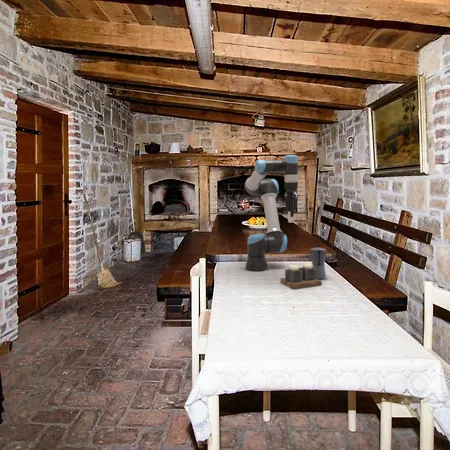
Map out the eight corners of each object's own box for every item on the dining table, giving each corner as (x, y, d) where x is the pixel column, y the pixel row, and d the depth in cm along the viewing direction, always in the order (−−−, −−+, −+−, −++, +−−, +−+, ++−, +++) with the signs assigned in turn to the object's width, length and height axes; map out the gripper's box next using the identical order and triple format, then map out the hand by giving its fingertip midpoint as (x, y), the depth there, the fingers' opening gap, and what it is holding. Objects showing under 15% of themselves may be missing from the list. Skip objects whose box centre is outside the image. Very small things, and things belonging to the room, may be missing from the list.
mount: (280, 282, 196) (280, 268, 195) (307, 279, 202) (307, 265, 201) (293, 289, 183) (293, 274, 182) (321, 285, 189) (321, 270, 188)
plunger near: (286, 279, 192) (286, 265, 191) (295, 278, 194) (295, 264, 193) (292, 281, 187) (292, 267, 186) (300, 280, 189) (300, 266, 188)
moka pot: (324, 274, 212) (324, 242, 210) (329, 281, 197) (329, 247, 194) (308, 274, 213) (308, 242, 210) (312, 281, 198) (312, 247, 195)
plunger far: (300, 277, 195) (300, 263, 194) (308, 276, 197) (308, 262, 196) (306, 279, 190) (306, 265, 189) (314, 278, 192) (314, 264, 191)
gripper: (279, 182, 203) (279, 221, 205) (291, 182, 190) (291, 223, 193) (290, 182, 205) (290, 220, 208) (302, 181, 193) (302, 223, 196)
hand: (290, 222), depth 201 cm, fingers closed
